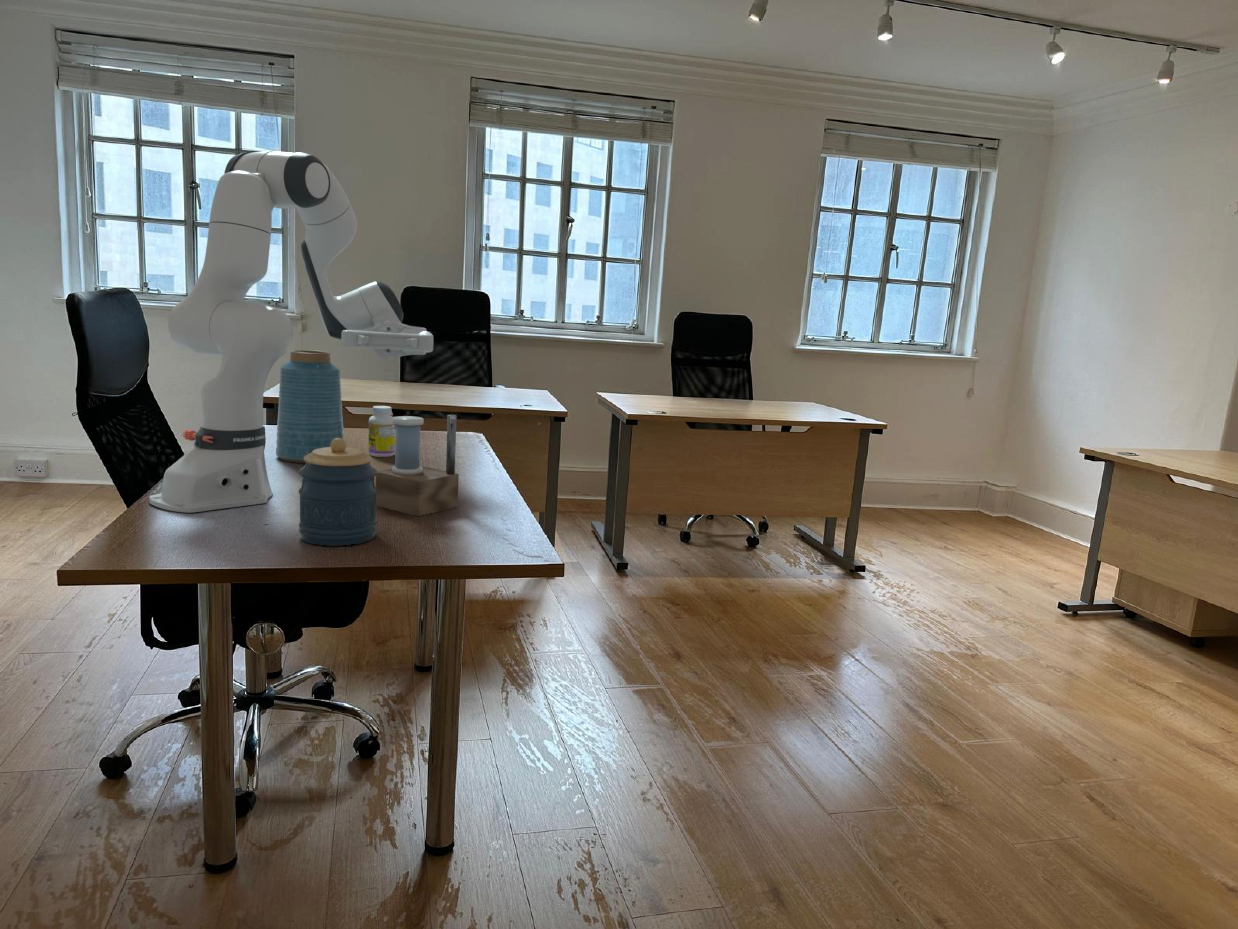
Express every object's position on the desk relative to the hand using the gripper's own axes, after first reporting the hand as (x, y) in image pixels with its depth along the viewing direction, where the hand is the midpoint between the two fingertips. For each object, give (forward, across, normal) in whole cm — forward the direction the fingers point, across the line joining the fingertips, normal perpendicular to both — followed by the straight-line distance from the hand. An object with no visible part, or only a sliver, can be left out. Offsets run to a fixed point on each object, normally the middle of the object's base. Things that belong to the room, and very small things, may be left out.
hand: (387, 342), depth 186 cm
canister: (+44, -7, +32) cm, 55 cm away
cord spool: (+21, +5, +25) cm, 33 cm away
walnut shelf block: (+22, +7, +32) cm, 39 cm away
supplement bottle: (-32, -2, +32) cm, 45 cm away
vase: (-27, -19, +32) cm, 46 cm away
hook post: (+24, +13, +25) cm, 37 cm away
